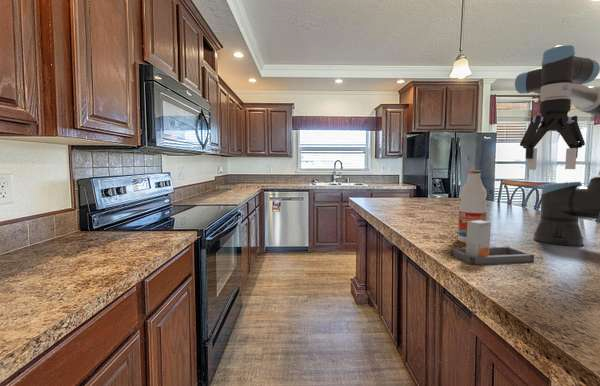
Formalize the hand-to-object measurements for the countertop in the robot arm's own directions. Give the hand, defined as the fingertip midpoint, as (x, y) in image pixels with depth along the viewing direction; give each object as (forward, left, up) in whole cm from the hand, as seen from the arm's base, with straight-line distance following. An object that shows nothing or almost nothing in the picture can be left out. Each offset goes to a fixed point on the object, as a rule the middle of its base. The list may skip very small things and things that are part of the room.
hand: (550, 169), depth 101 cm
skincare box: (+21, -4, -29) cm, 36 cm away
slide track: (+16, -4, -29) cm, 33 cm away
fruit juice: (+8, -25, -29) cm, 39 cm away
